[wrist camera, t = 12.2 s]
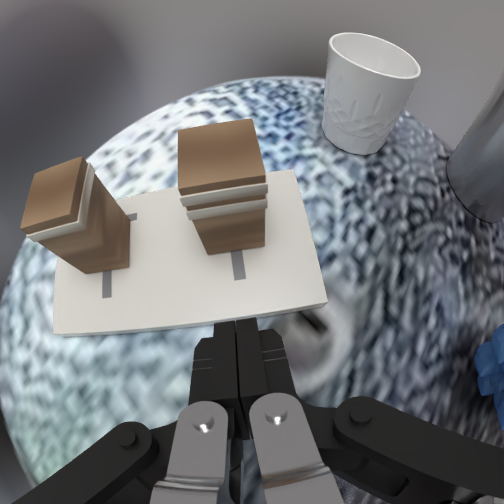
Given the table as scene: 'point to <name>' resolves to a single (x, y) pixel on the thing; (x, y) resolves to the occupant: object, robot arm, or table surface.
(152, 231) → the white rectangular board
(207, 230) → the two band post
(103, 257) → the one band post
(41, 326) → the table surface
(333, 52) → the white cup
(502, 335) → the grapes
